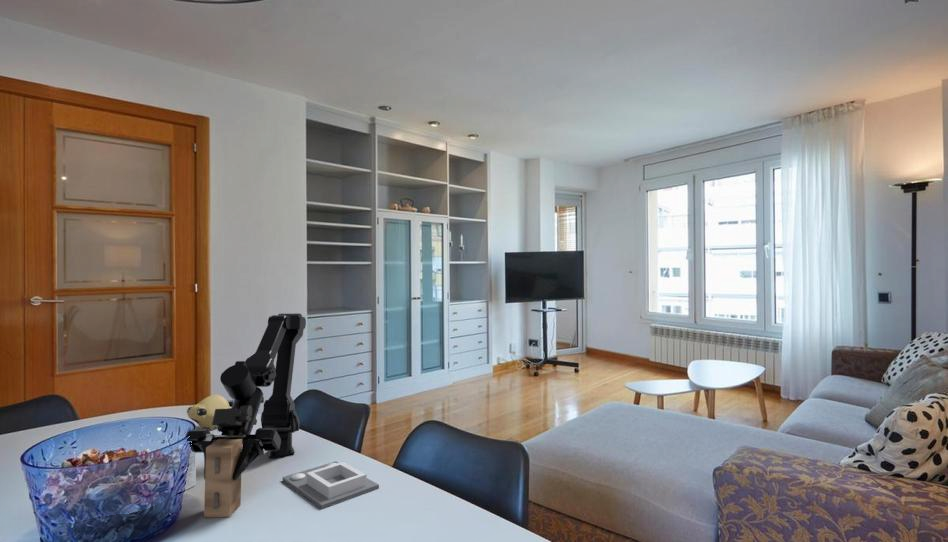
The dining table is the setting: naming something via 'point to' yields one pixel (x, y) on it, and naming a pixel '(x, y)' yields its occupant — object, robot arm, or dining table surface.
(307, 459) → the dining table surface
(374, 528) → the dining table surface
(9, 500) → the dining table surface
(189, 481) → the medicine box
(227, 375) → the robot arm
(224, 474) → the tan tall block
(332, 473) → the grey insertion base
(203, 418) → the toy pig
